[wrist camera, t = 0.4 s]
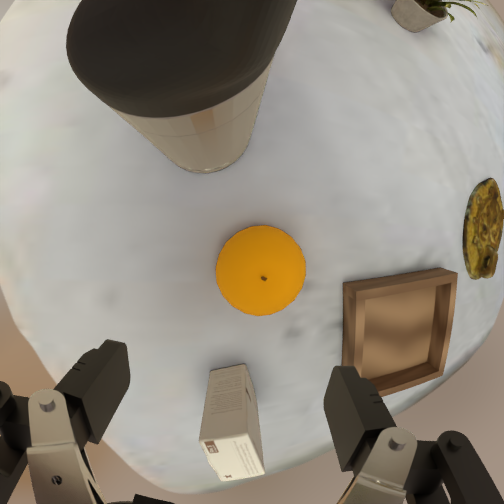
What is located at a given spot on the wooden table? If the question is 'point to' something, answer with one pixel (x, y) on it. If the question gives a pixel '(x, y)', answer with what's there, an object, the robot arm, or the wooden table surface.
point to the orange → (260, 270)
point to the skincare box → (232, 425)
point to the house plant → (422, 13)
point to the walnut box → (399, 327)
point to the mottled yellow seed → (483, 230)
